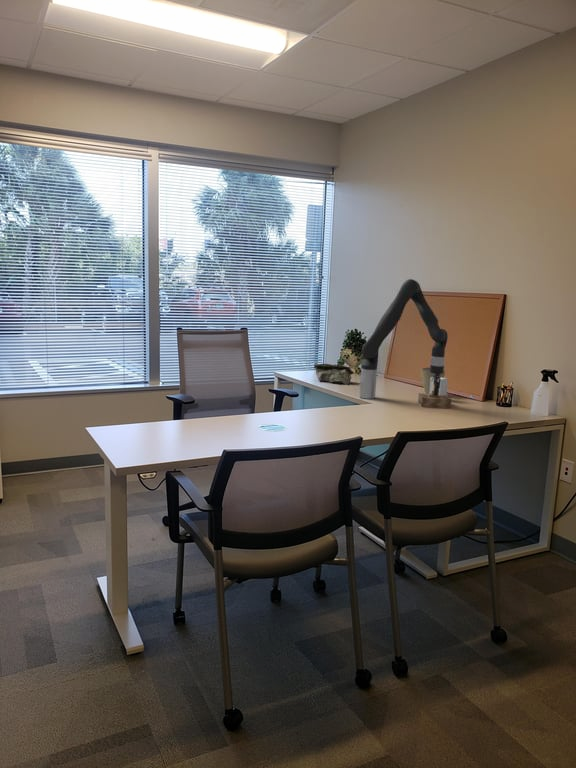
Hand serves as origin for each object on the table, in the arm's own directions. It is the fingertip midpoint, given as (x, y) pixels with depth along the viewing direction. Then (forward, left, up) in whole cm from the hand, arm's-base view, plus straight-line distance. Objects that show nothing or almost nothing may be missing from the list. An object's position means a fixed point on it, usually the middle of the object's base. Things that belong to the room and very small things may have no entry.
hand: (435, 394), depth 326 cm
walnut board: (0, 0, -6) cm, 6 cm away
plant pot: (+4, +35, -6) cm, 36 cm away
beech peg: (0, 0, -3) cm, 3 cm away
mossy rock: (-58, +64, -6) cm, 86 cm away
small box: (+5, +18, -6) cm, 20 cm away
